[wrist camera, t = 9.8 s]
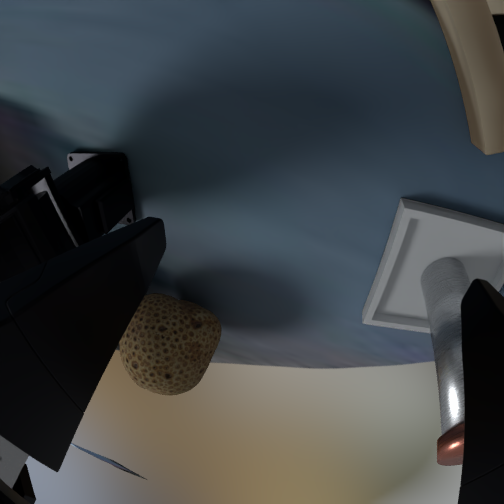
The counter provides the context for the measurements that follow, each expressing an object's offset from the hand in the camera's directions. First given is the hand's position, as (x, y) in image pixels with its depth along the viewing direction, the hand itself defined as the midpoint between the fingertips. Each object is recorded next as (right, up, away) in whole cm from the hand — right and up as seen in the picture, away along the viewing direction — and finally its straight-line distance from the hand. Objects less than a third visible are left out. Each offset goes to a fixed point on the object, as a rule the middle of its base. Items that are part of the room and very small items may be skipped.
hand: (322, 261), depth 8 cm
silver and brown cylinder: (+13, -2, +13) cm, 19 cm away
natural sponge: (-8, -5, +23) cm, 25 cm away
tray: (+13, -1, +14) cm, 19 cm away
